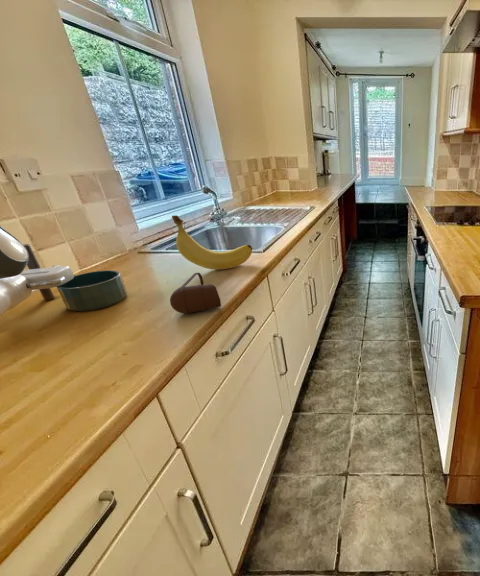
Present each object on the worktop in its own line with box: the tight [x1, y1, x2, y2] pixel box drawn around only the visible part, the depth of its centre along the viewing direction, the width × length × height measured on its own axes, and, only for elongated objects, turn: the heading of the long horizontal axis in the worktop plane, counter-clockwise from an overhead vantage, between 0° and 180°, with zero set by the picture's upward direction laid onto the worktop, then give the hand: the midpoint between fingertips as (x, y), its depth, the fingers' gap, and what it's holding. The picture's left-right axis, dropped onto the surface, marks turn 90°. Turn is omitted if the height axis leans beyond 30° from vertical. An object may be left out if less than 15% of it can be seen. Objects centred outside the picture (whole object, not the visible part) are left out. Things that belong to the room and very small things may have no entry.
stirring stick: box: [22, 243, 56, 302], centre depth 88 cm, size 2×2×16 cm
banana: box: [171, 215, 253, 270], centre depth 109 cm, size 23×6×20 cm, turn 122°
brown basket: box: [169, 272, 222, 314], centre depth 87 cm, size 18×12×7 cm, turn 23°
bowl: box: [56, 269, 128, 312], centre depth 88 cm, size 13×13×7 cm
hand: (36, 270), depth 88 cm, fingers open, 8 cm apart
